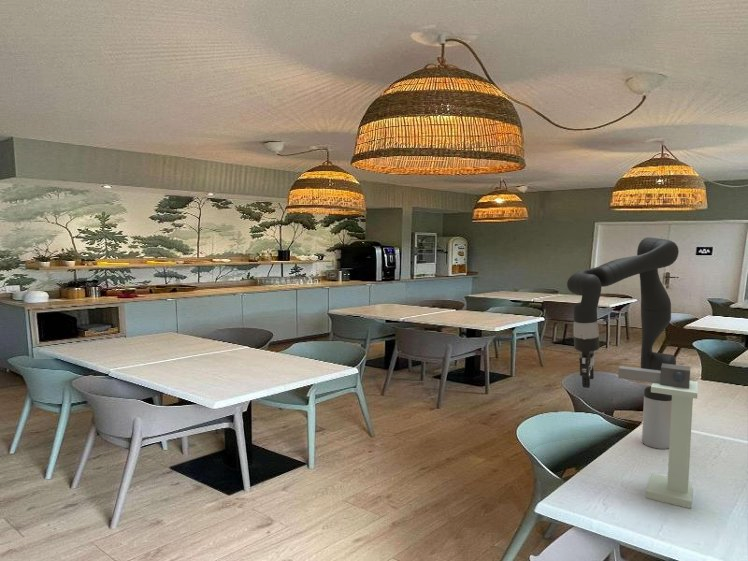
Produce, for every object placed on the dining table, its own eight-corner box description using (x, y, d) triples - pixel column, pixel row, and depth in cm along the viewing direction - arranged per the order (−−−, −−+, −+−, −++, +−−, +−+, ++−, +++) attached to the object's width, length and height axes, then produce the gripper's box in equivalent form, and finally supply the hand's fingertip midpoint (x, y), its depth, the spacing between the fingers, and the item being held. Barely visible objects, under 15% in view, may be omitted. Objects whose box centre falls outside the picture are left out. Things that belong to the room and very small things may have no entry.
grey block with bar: (620, 374, 157) (621, 358, 157) (689, 383, 147) (690, 366, 147) (617, 379, 151) (617, 362, 150) (689, 389, 141) (689, 371, 141)
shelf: (649, 478, 157) (654, 376, 155) (692, 488, 152) (697, 381, 149) (645, 497, 146) (651, 386, 143) (691, 508, 140) (697, 393, 137)
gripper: (577, 329, 174) (579, 375, 176) (569, 339, 162) (572, 389, 164) (601, 329, 170) (603, 377, 172) (595, 340, 158) (597, 391, 160)
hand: (588, 383), depth 168 cm, fingers open, 8 cm apart
